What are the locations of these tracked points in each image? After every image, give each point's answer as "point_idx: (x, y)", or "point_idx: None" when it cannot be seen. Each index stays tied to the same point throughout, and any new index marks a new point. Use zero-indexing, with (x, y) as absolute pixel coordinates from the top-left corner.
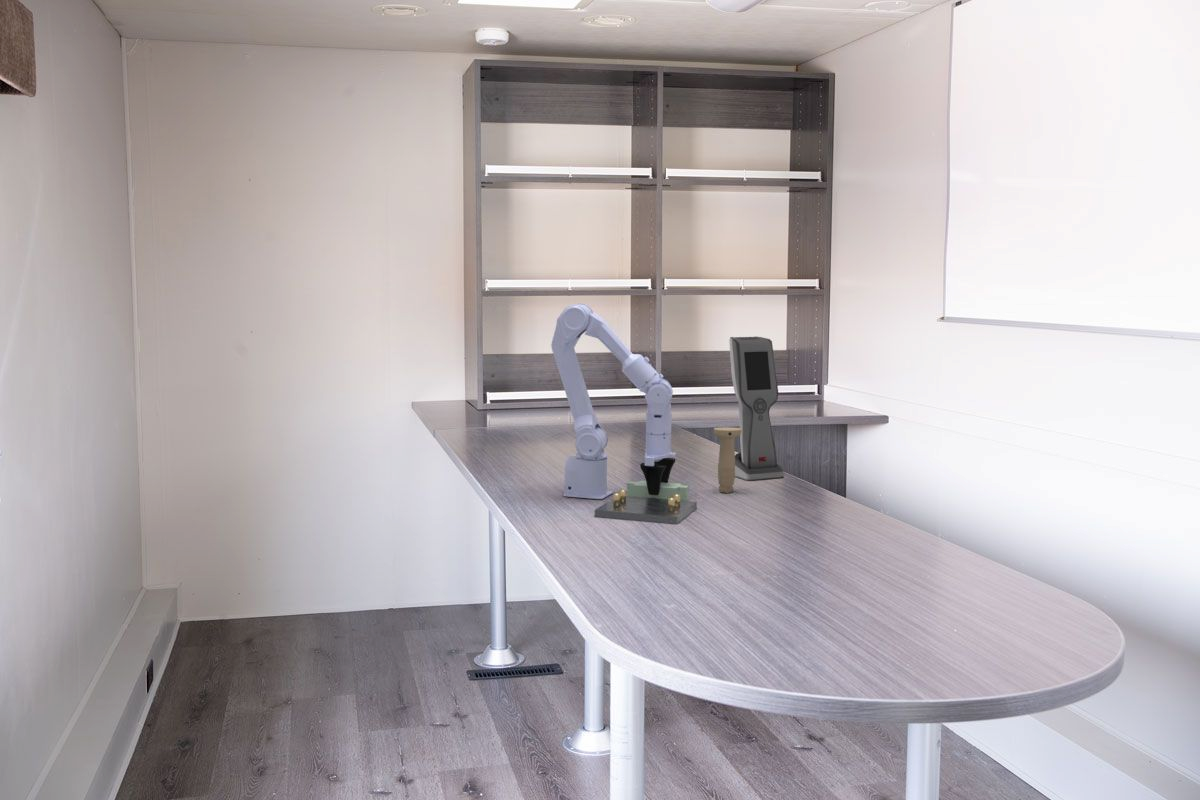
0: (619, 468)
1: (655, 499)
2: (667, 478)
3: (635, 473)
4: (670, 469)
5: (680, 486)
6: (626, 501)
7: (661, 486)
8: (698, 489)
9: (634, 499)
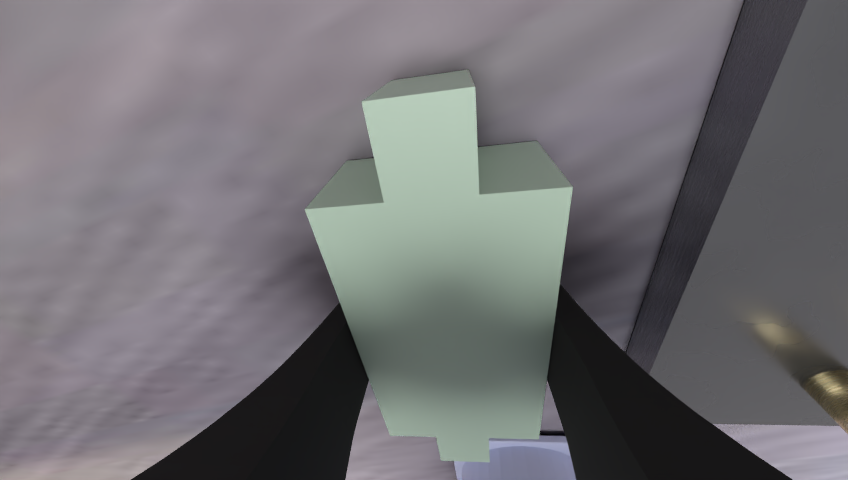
0: (98, 473)
1: (754, 248)
2: (332, 350)
3: (100, 441)
4: (259, 421)
5: (443, 176)
6: (834, 368)
7: (520, 316)
8: (33, 157)
9: (756, 350)
